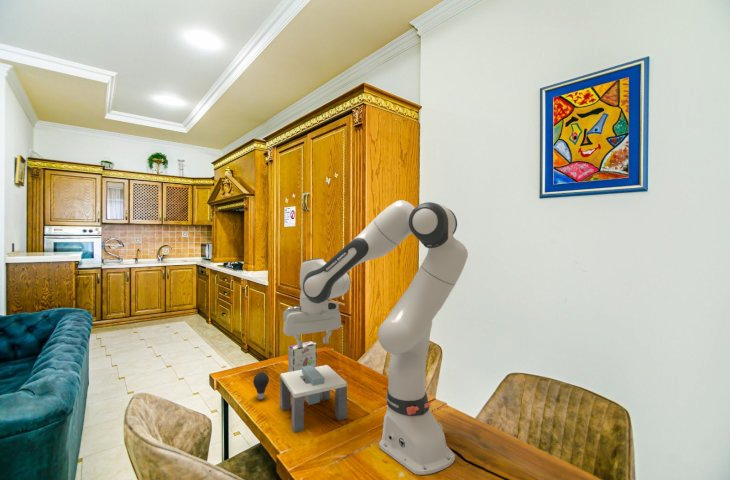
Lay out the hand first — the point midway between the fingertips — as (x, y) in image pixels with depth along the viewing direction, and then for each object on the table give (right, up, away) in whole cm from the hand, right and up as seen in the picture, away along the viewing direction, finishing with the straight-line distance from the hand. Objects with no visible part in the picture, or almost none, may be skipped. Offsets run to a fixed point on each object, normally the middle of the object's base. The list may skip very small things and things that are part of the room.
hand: (313, 344), depth 114 cm
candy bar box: (-8, -24, +23) cm, 34 cm away
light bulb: (-21, -24, +9) cm, 33 cm away
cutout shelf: (0, -24, 0) cm, 24 cm away
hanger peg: (0, -20, 0) cm, 20 cm away
